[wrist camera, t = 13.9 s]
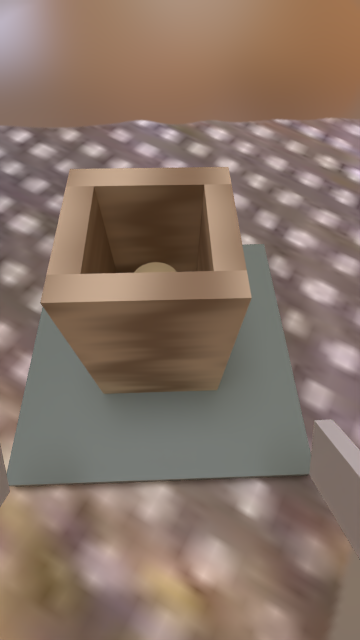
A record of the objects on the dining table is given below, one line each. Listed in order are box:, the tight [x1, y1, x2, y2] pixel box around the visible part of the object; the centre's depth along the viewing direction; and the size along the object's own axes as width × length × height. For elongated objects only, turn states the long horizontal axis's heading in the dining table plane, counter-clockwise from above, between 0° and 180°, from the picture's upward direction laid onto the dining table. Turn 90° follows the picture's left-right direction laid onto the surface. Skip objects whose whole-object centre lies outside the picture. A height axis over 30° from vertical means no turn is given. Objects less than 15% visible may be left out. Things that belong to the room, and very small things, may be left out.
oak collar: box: [40, 167, 252, 394], centre depth 18 cm, size 8×8×11 cm
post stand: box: [7, 244, 311, 486], centre depth 20 cm, size 18×18×8 cm
